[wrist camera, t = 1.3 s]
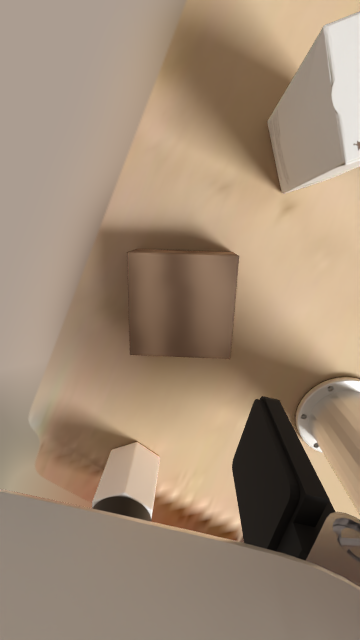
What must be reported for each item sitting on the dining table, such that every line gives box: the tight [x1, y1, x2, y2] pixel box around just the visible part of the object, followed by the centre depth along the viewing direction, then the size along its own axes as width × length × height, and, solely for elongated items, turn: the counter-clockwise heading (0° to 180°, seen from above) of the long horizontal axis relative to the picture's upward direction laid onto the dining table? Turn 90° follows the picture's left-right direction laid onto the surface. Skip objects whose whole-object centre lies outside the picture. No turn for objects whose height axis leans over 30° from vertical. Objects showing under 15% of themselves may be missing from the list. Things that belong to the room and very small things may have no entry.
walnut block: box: [127, 249, 239, 359], centre depth 36 cm, size 12×12×6 cm
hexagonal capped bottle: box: [92, 442, 160, 522], centre depth 41 cm, size 9×8×12 cm
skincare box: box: [267, 11, 360, 193], centre depth 25 cm, size 8×7×16 cm
